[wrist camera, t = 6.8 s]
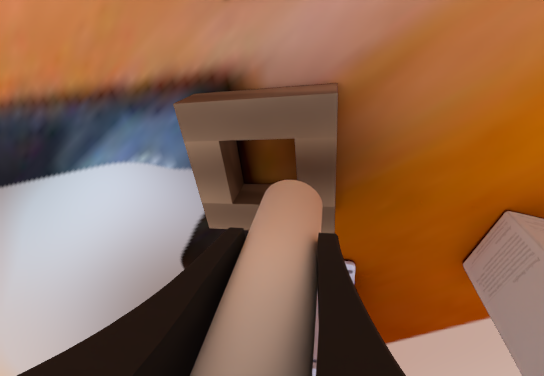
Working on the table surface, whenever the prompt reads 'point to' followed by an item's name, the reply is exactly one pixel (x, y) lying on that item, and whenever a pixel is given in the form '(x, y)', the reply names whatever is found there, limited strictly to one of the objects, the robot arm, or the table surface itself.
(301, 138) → the brown square frame
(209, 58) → the table surface
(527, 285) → the skincare box
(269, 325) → the peg
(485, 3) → the table surface
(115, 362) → the robot arm
